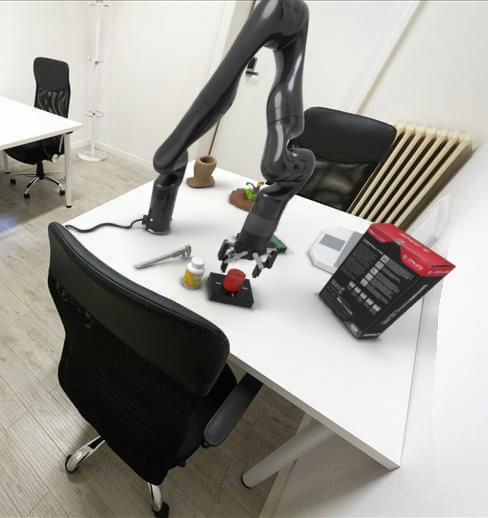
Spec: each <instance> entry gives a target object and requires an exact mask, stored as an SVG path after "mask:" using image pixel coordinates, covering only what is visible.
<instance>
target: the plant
mask: <svg viewBox="0 0 488 518" xmlns="http://www.w3.org/2000/svg"><path fill="white" fill-rule="evenodd" d="M249 185H251V186H252V187H250V186H249ZM245 186H249V187H248V188H246V187H242V188H241V187H238V188H236V189H235V190H232V191H231V193H230V197H229V203H230V204H232V205H234V206H235V207H236V208H238V209H241V210H243V211H245V212H246V211H247V212H248V213H249V212H250V210H251V208H252V205H253V203H254V200H255V198H256V196H257V194H258V192H259V190H260V189H261V186H265V182H264V181H258V182H257V184H256V186H255V185H254V183H253V182H249V181H247V182H245Z"/></svg>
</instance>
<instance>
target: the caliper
mask: <svg viewBox="0 0 488 518" xmlns="http://www.w3.org/2000/svg"><path fill="white" fill-rule="evenodd" d="M191 254H192V246H191V244H190V243H187V244H184V246H183V247H180V248H178V249H174V250H172V251H171V252H169V253H165V254H162V255H160V256H157V257H154V258H150V259H149V260H148V259H147V260H146V261H142V262H139V264H137V265H135V267H136V268H137V269H143V268H146V267H148V266H152V265H154V264H157V263H160V262H163V261H166V260H169V259H171V258H173V259H177V258H178V257H180V256H181V258H182V259H183V260H186V258H187V259H189V258H190V256H191Z"/></svg>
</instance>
